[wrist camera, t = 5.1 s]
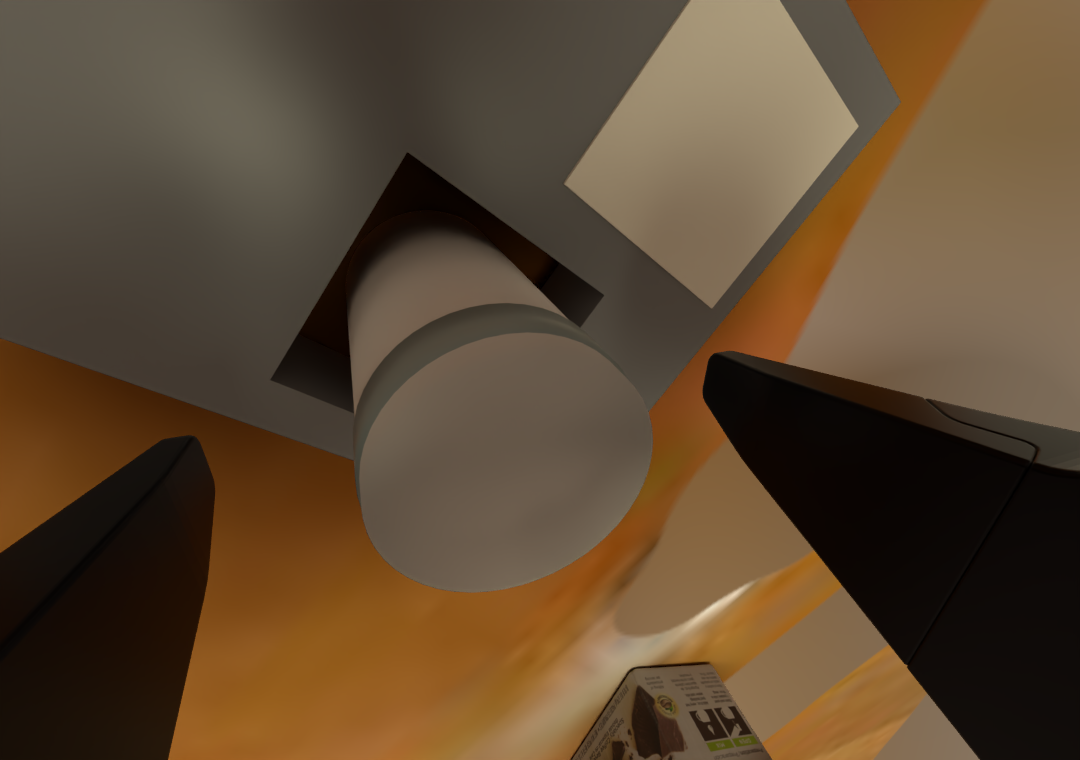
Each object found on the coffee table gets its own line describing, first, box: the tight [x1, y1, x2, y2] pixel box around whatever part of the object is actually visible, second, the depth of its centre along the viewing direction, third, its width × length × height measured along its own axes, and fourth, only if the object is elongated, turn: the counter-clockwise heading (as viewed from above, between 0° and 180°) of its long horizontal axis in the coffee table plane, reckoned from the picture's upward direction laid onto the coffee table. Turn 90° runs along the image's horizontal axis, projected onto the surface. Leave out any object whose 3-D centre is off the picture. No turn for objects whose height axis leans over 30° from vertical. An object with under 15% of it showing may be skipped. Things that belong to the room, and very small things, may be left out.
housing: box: [0, 0, 901, 461], centre depth 12 cm, size 15×16×3 cm
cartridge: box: [345, 210, 653, 592], centre depth 11 cm, size 4×4×8 cm
